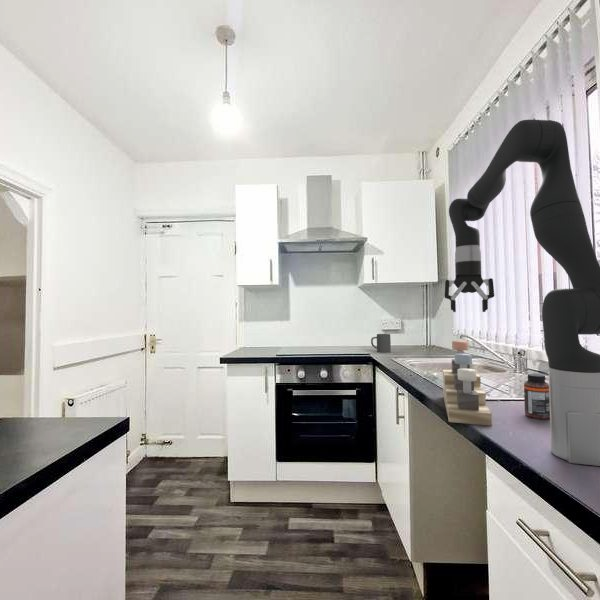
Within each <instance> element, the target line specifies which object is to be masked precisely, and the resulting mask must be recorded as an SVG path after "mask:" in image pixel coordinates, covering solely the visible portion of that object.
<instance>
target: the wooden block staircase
mask: <svg viewBox="0 0 600 600" xmlns="http://www.w3.org/2000/svg"><path fill="white" fill-rule="evenodd" d="M470 367H471V364H470V365H467V369H471V368H470ZM457 369H460V364H455V358H451V369H442V386H443V387H442V388H443V391H442V392H443V393H442V394H443V396H442V397H443V401H444V406H445V410H446V415H447V416H446V417H447V418H448V419H447V420H448V423H458V424H467V425H470V424H471V425H480V426H482V425H483V426H492V424H493V422H492V421H493V417H492V415H493V414H492V412H491V410H490V409H489V407H488V406H487V402H486V401H487V400H486V399H487V398H486V396H487V395H486V392H485V390H484V389H483V387H482V386H481V385H482V384H481V382H482V381H481V375H480V374H479V372H478V371H476V377H477V380H476V381H471V393H463V381H461V380H458V370H457Z"/></svg>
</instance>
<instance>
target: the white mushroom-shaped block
mask: <svg viewBox="0 0 600 600" xmlns="http://www.w3.org/2000/svg"><path fill="white" fill-rule="evenodd" d="M457 370H458V380H461V381H463V393H471V381H476V380H477V377H476V372H477V369H474V368H470V369H466V368H461V369H457Z"/></svg>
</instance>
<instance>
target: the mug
mask: <svg viewBox="0 0 600 600" xmlns="http://www.w3.org/2000/svg"><path fill="white" fill-rule="evenodd" d="M374 339H376V345H374ZM391 341H392V340H391V334H390V333H377V334H376V336H373V337H371V340H370V344H371V346H372V347H373V348H374V349H376V353H381V354H382V353H383V354H385V353H387V354H388V353H391V351H392V350H391V348H392V347H391V344H392V343H391Z"/></svg>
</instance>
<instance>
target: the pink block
mask: <svg viewBox="0 0 600 600" xmlns="http://www.w3.org/2000/svg"><path fill="white" fill-rule="evenodd" d="M451 349H452V350H453V351H456V354H465V353H464V351H468V350H469V341H468V340H452V341H451Z"/></svg>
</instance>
